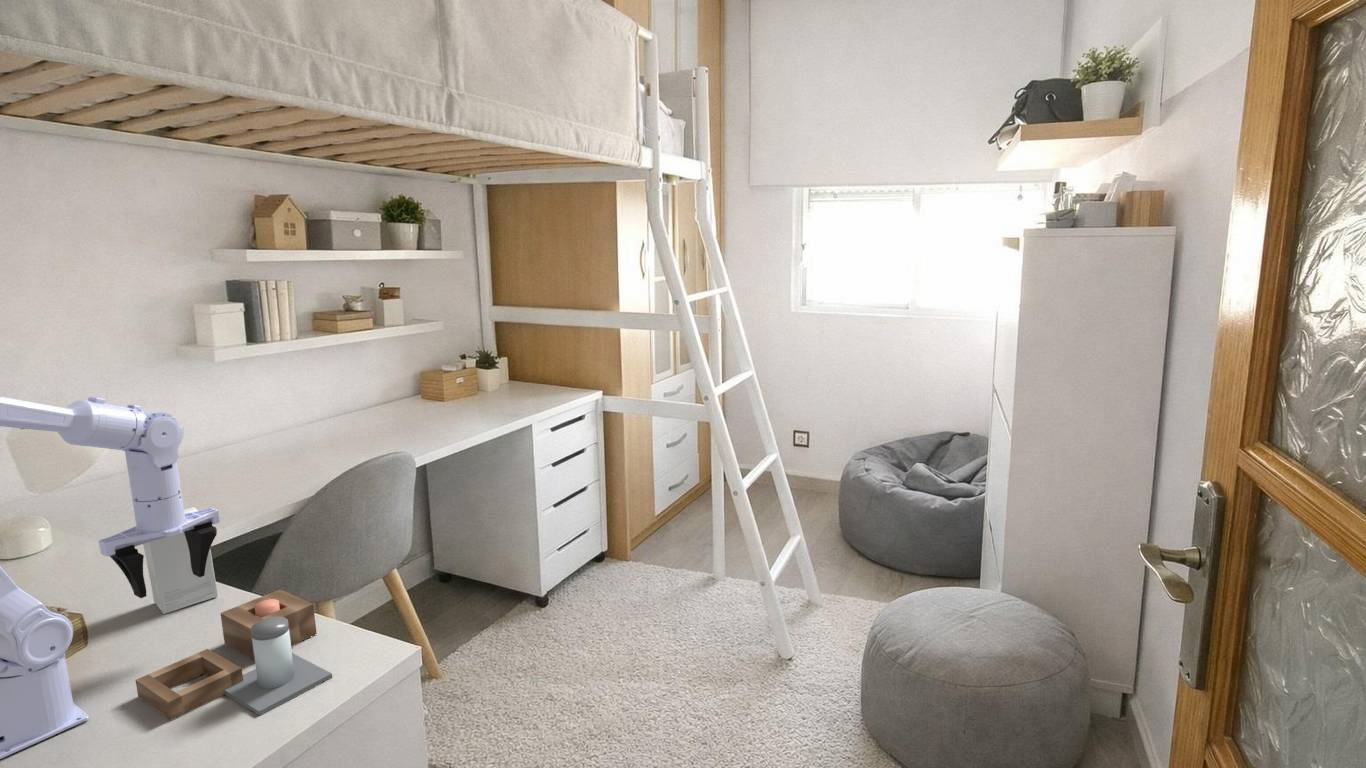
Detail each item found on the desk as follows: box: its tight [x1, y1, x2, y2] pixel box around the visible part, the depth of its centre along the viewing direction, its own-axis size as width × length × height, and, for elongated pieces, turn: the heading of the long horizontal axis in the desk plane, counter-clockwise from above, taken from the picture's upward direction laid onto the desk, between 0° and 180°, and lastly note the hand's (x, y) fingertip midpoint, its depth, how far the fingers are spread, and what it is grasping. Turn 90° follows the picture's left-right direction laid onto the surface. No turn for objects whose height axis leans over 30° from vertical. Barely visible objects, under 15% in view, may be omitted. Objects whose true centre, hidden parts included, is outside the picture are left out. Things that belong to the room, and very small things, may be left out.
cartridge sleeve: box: [135, 648, 244, 721], centre depth 102 cm, size 9×9×2 cm
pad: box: [224, 652, 333, 716], centre depth 104 cm, size 10×10×1 cm
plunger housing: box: [219, 589, 317, 662], centre depth 115 cm, size 9×9×5 cm
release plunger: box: [255, 599, 280, 618], centre depth 114 cm, size 3×3×5 cm
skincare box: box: [142, 506, 219, 615], centre depth 126 cm, size 8×6×15 cm
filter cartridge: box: [251, 617, 294, 689], centre depth 103 cm, size 4×4×8 cm
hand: (170, 585), depth 110 cm, fingers open, 7 cm apart
